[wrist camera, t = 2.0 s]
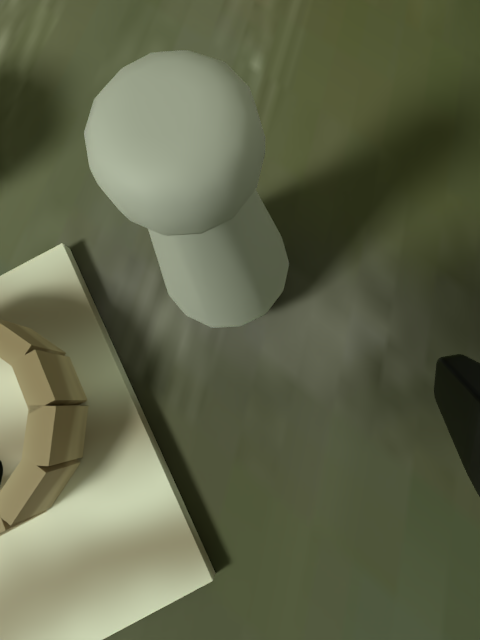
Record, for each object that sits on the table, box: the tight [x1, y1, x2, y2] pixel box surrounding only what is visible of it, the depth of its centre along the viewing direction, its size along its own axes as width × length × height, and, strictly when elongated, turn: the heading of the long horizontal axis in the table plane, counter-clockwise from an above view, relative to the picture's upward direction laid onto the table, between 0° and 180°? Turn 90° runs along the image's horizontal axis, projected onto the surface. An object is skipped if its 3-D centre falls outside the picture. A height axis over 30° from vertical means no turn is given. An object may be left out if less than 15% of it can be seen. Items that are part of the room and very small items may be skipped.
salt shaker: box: [84, 50, 289, 328], centre depth 15 cm, size 6×6×13 cm
